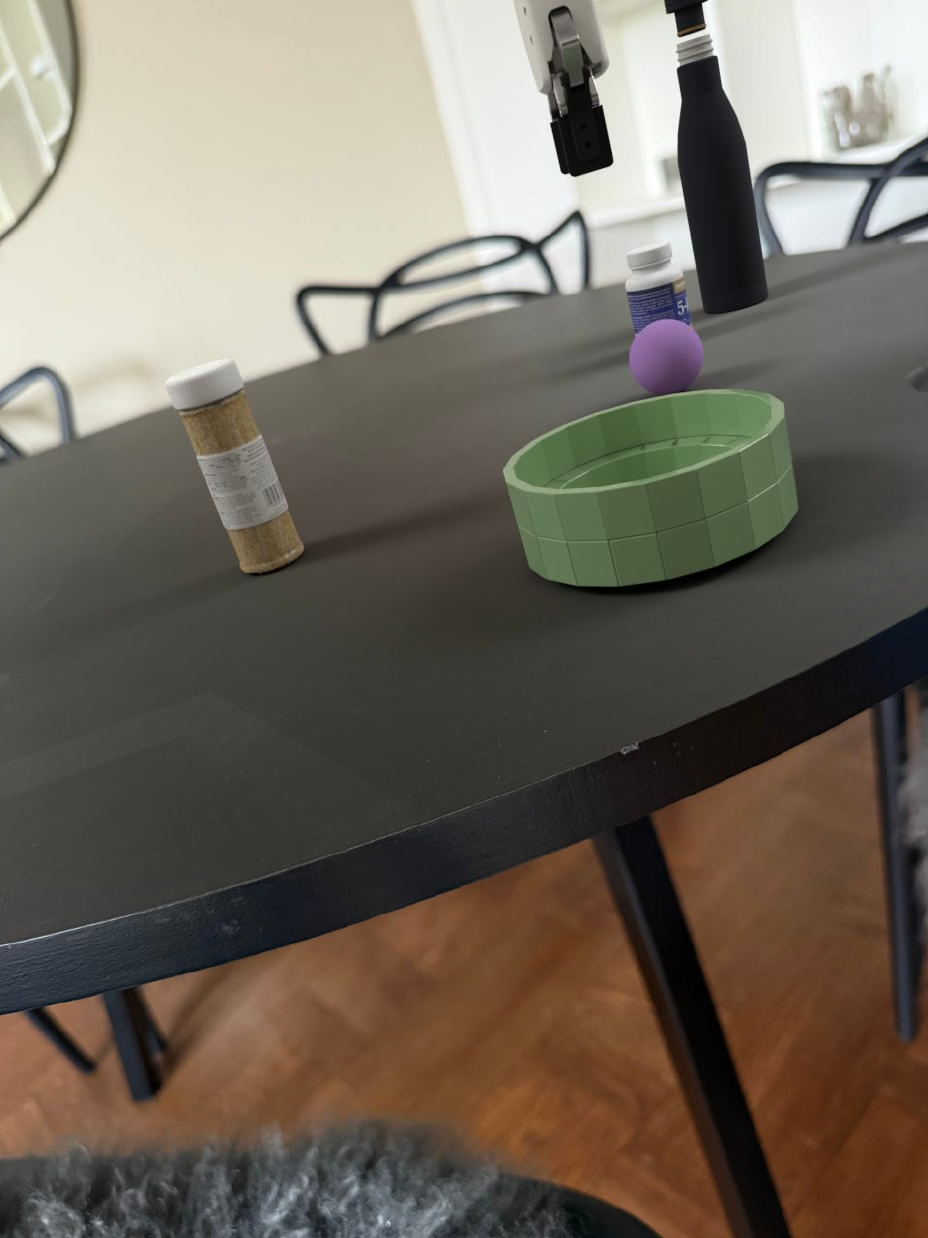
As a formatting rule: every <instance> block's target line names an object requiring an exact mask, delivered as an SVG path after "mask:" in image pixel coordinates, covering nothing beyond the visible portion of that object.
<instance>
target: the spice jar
mask: <svg viewBox="0 0 928 1238" xmlns="http://www.w3.org/2000/svg"><path fill="white" fill-rule="evenodd" d="M244 385H245V384H244V381H243V379H242V376H241V373H240V371H239V368H238V366H237V363H236V361H235V360H234V359H232V358H220V359H217V360H212V361H208V362H205V363H201V364H199V365H195V366H193V367H190V368H188V369H185V370H182V371H180V372H178V373H176V374H174V375H173V376H170V377H169V378H168V379H166V381H165V383H164V387H165V389H166V392H167V395H168V397H169V399H170V402H171V404H172V407H173V408H174V410H178V415H179V416H180V418H181V421H182V423H183V425H184V428H185V430H186V433H187V435H188V438H189V440H190V442H191V445H192V448H193V450H194V451H193V452H194V453H195V455H196V456H195V457H196V459H197V463H198V465H199V467H200V470H201V472H202V474H203V477H204V479H205V482H206V486H207V488H208V490H209V493H210V495H211V497H212V500H213V502H214V505H215V507H216V510H217V512H218V515H219V518H220V519H221V522H222V524H223V527H224V528H225V529H226V532H227V535H228V536H229V538H230V541H231V543H232V546H233V548H234V550H235V553H236V556H237V559H238V560H239V568H240V569H241V571H242V572H243V573H245V574H249V573H259V574H263V573H262V572H266V573H268V572H267V571H270V572H272V571H271V570H273V571H275V570H274V569H276V568H278V569H280V568H279V567H281V568H283V567H282V566H284V567H285V566H287V565H286V564H288V565H289V564H291V563H293V562H295V561H296V560H298V559H299V558H300V557H301V555H302V554H303V552H304V550H305V545H304V543H303V541H302V540H301V539H300V536H299V534H298V532H297V529H296V527H295V523H294V522H293V519H292V516H291V513H290V511H289V504H288V502H287V499H286V495H285V494H284V491H283V488H282V485H281V483H280V479H279V478H278V474H277V472H276V469H275V467H274V464H273V462H272V459H271V456H270V453H269V451H268V448H267V445H266V443H265V441H264V438H263V435H262V433H260V431H259V428H258V426H257V421H256V420H255V418H254V415H253V412H252V410H251V408H250V404H249V402H248V400H247V397H246V390H245V389H243V388H244ZM299 556H300V557H299ZM298 557H299V558H298ZM297 558H298V559H297ZM295 559H296V560H295ZM294 560H295V561H294ZM292 561H293V562H292ZM290 562H291V563H290ZM276 570H277V569H276Z"/></svg>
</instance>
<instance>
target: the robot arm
mask: <svg viewBox="0 0 928 1238" xmlns="http://www.w3.org/2000/svg"><path fill="white" fill-rule="evenodd" d="M512 2H513V7H514V10H515V14H516V18H517V23H518V26H519V30H520V34H521V37H522V42H523V45H524V49H525V53H526V56H527V60H528V62H529V65H530V70H531V73H532V76H533V78H534V81H535V85H536V88H537V91H538V93H540V94H541V95H542V94H543V95H544V96H546V99H547V105H548V111H549V115H550V119H551V121H550V122H549V126H550V131H551V135H552V139H553V143H554V148H555V153H556V157H557V161H558V167H559V170H560V171H559V172H560V173H561V174H562V175H570V176H571V177H573V178H578V177H580V176H584V175H587V174H590V173H591V174H592V173H594V172H598V171H601V170H603V169H607V168H610V167H612V165H613V164H614V161H615V160H614V155H613V150H612V146H611V140H610V135H609V130H608V126H607V125H608V124H607V121H606V116H605V111H604V106H603V104H600V96H599V93H598V88H597V85H596V81H595V80H598V79H600V77H602V76H603V75H604V74H605V73H606V71H607V70H608V69H609V67H610V59H609V58H610V57H609V54H608V50H607V45H606V41H605V37H604V32H603V28H602V25H601V19H600V16H599V11H598V6H597V2H596V0H512Z"/></svg>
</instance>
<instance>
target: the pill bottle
mask: <svg viewBox="0 0 928 1238" xmlns="http://www.w3.org/2000/svg"><path fill="white" fill-rule="evenodd" d="M625 257H626V262H627V266H628V270H630V271H631V273H632V275H631V276H629V278H628V279H627V280H626V282H625V287H624V288H625V292H626V296H627V297H626V298H627V303H628V306H629V312H630V317H631V322H632V325H633V332H634V336H635V338H636V336H637V335H638V334H639V332H640V331H641V330H642V329H644V328H645V327H646V326H648V325H649V324H651V323H653V322H656V321H659V320H665V319H672V320H678V321H681V322H683V323H685V324H687V325H688V326H690V327H691V328H692V329H693V330H694V327H693V322H692V317H691V309H690V305H689V300H688V295H687V288H686V282H685V277H684V272H683V269H682V268H681V267H680V266H678V265H675V264H672V261H671V260H672V259H673V250H672V246H671V242H670V241H669V240H666V241H658V242H655V243H650V244H647V245H642V246H640V247H636V248H634V249H631V250H629V251H628V252H626V254H625Z"/></svg>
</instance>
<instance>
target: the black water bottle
mask: <svg viewBox="0 0 928 1238" xmlns="http://www.w3.org/2000/svg"><path fill="white" fill-rule="evenodd" d="M708 1H709V0H663V2H664V8H665V15H672V14H673V15H674V21H675V26H676V37H678V38H679V39H680V38H684V37H687V36H691V35H693V34H697V33H699V32H702V31H705V30H706V28H707V23H706V20H705V14H704V8H703V7H704V5H703V4H704V3H706V2H708ZM713 41H714V40H713V38H711V33H707V34H704V35H701V36H697V37H694V38H691V39H688V40H685V41H681V42H679V43H677V44H676V50H675V53H676V54H677V56H678V58H677V59H676V61H677V62H678V63H679V66H678V67H677V68H676V76H677V82H678V87H679V92H680V93H679V94H680V99H681V103H680V110H679V117H678V118H679V119H678V128H677V142H676V143H677V145H676V147H677V148H676V149H677V150H676V151H677V153H676V154H677V167H678V173H679V178H680V185H681V190H682V196H683V201H684V208H685V211H686V212H685V213H686V218H687V224H688V230H689V235H690V241H691V242H690V243H691V247H692V252H693V259H694V265H695V270H696V275H697V281H698V287H699V293H700V297H701V298H700V299H701V303H702V304H701V305H702V310H703V312H704V313H705V314H713V315H714V314H722V313H728V312H729V313H730V312H734V311H738V310H742V309H745V308H748V307H751V306H755V305H757V304H759V303H761V302H764V301H765V300H766V299H768V297H769V290H768V283H767V277H766V275H767V274H766V268H765V262H764V254H763V248H762V241H761V236H760V227H759V222H758V213H757V209H756V202H755V201H756V200H755V195H754V194H755V193H754V188H753V182H752V175H751V174H752V173H751V168H750V161H749V154H748V148H747V147H748V146H747V142H746V138H745V135H744V132H743V129H742V127H741V124H740V121H739V118H738V116H737V113H736V111H735V109H734V108H733V105H732V103H731V101H730V100H729V97H728V95H727V94H726V91H725V90H724V88H723V82H722V76H721V75H722V74H721V70H720V62H719V57H718V56H717V55H715V54H714V52H713V51H715V47H713V45H712V43H713Z"/></svg>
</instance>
